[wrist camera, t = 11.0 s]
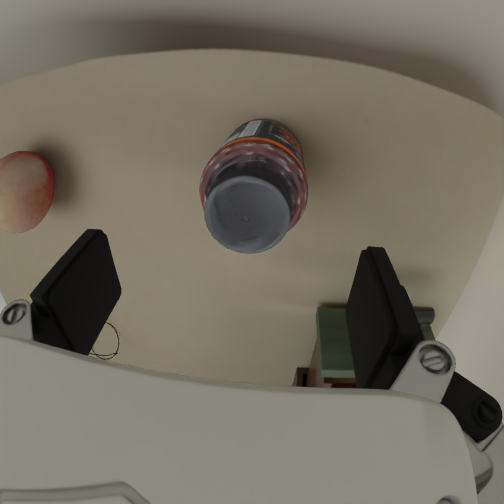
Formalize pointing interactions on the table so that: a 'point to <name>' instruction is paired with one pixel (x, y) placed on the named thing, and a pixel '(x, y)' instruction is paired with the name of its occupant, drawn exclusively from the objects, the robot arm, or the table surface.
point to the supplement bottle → (254, 187)
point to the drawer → (344, 348)
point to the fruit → (24, 191)
